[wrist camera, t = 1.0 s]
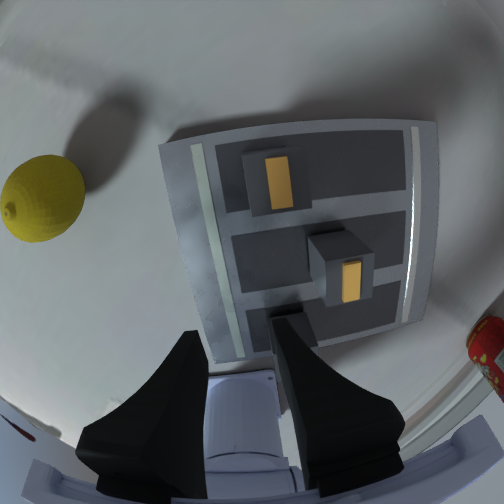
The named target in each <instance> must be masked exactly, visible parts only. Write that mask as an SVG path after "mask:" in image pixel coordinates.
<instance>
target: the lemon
mask: <svg viewBox="0 0 504 504" xmlns="http://www.w3.org/2000/svg"><path fill="white" fill-rule="evenodd" d="M84 199H85V184H84V180H83V177H82V175H81V173H80V171H79V169H78V168H77V167H76V166H75V165H74V164H73V162H71V161H69V160H68V159H66V158H64V157H61V156H57V155H43V156H38V157H34V158H32V159H30V160H28V161H27V162H25V163H23V164H21V165H20V166H19V167H17V168H16V169H15V170H14V171H13V172H12V174H11V175H10V176H9V177H8V179H7V181H6V183H5V185H4V187H3V190H2V194H1V201H0V209H1V215H2V219H3V221H4V224H5V225H6V227H7V228H8V230H9V231H10V232H11V233H12V234H13V235H14V236H15V237H17V238H18V239H20V240H22V241H26V242H31V243H35V242H42V241H47V240H50V239H52V238H54V237H56V236H58V235H60V234H62V233H63V232H65V231H66V230H67V229H68V228H69V227H70V226H71V225H72V224H73V223H74V222H75V221H76V219H77V217H78V216H79V214H80V212H81V210H82V207H83V204H84Z"/></svg>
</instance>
